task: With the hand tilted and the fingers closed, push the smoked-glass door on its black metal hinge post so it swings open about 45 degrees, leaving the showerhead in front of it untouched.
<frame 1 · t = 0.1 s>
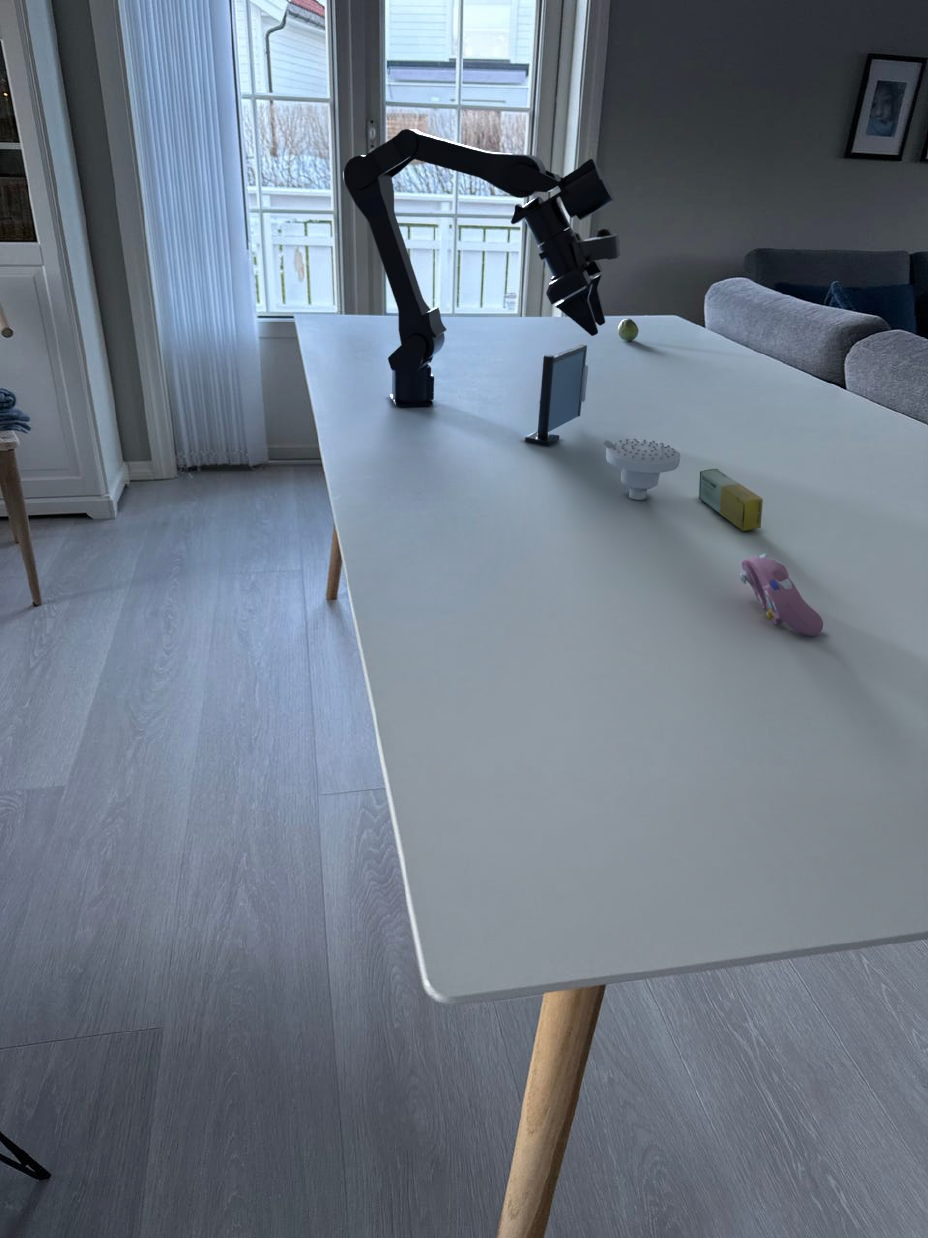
hand: (599, 329, 144), 15 cm above the table, tool tilted 30°, fingers open, 9 cm apart
showerhead: (634, 498, 119), on the table
hinge post: (542, 441, 139), on the table
medication box: (725, 516, 114), on the table
shower door: (569, 388, 141), point 7 cm above the table, hinge at 0.0°
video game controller: (774, 617, 90), on the table
lime: (626, 341, 213), on the table
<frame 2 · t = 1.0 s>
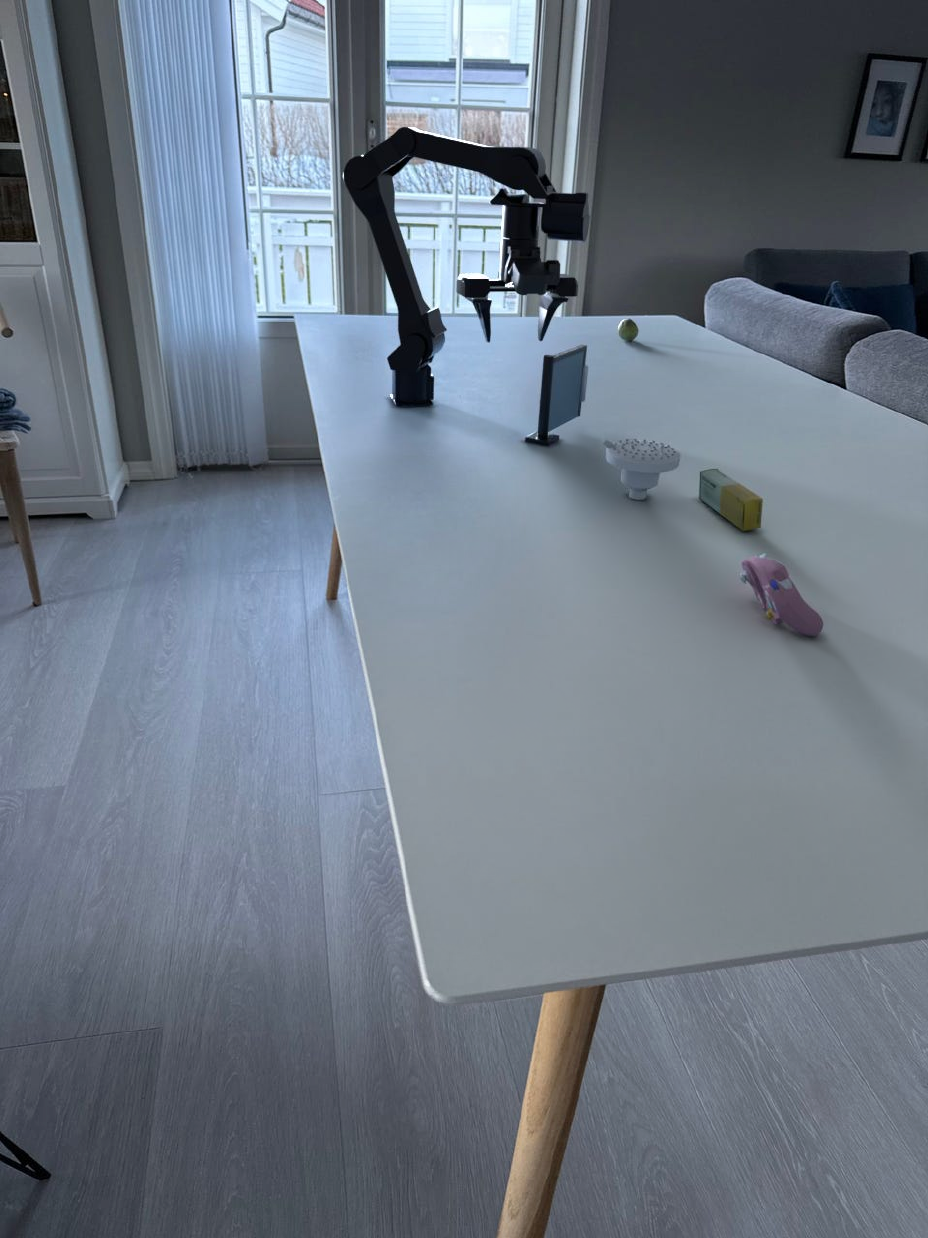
hand: (514, 341, 147), 12 cm above the table, tool pointing down, fingers open, 9 cm apart
nothing on the table moved.
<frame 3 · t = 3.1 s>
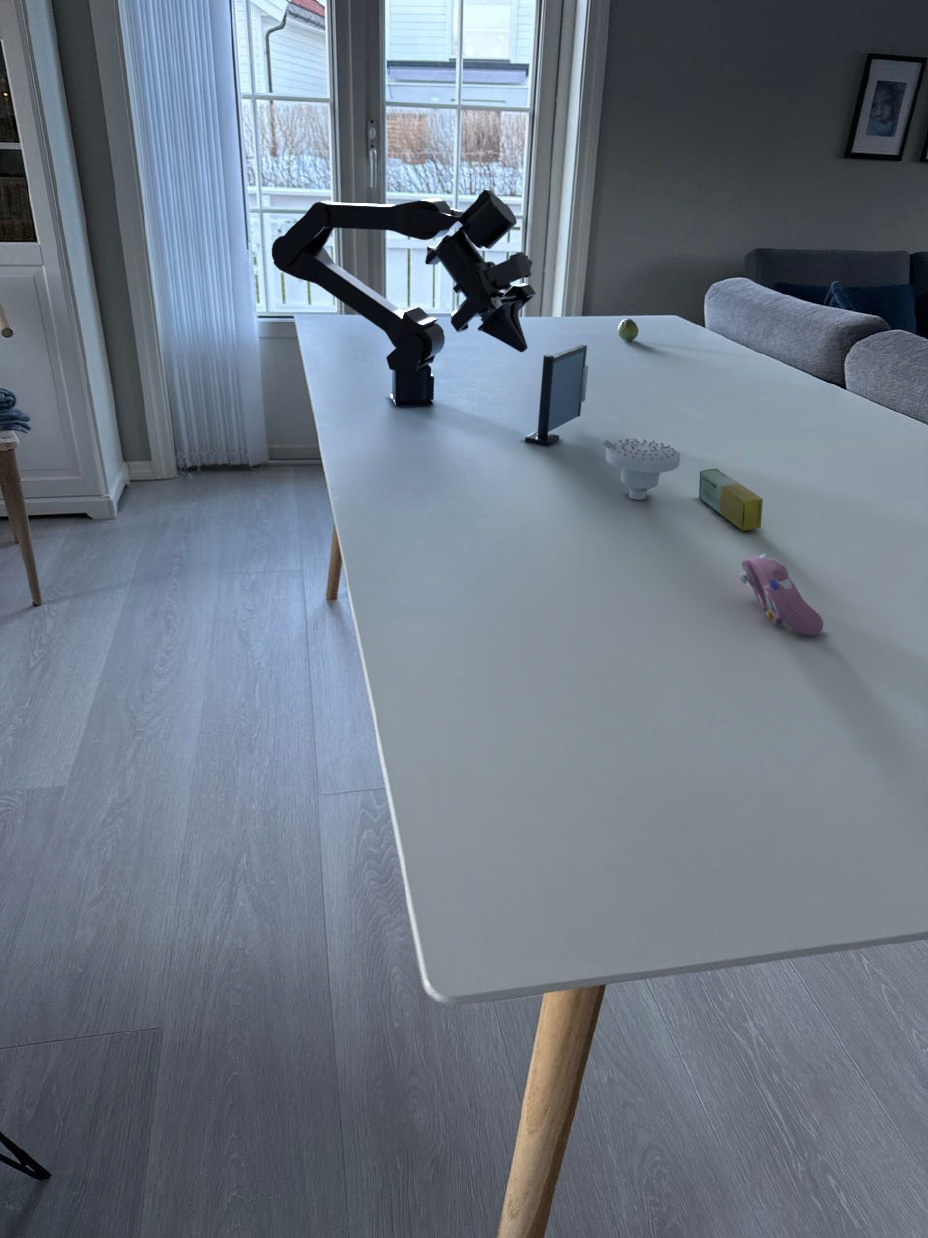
hand: (524, 350, 144), 11 cm above the table, tool tilted 45°, fingers closed
nothing on the table moved.
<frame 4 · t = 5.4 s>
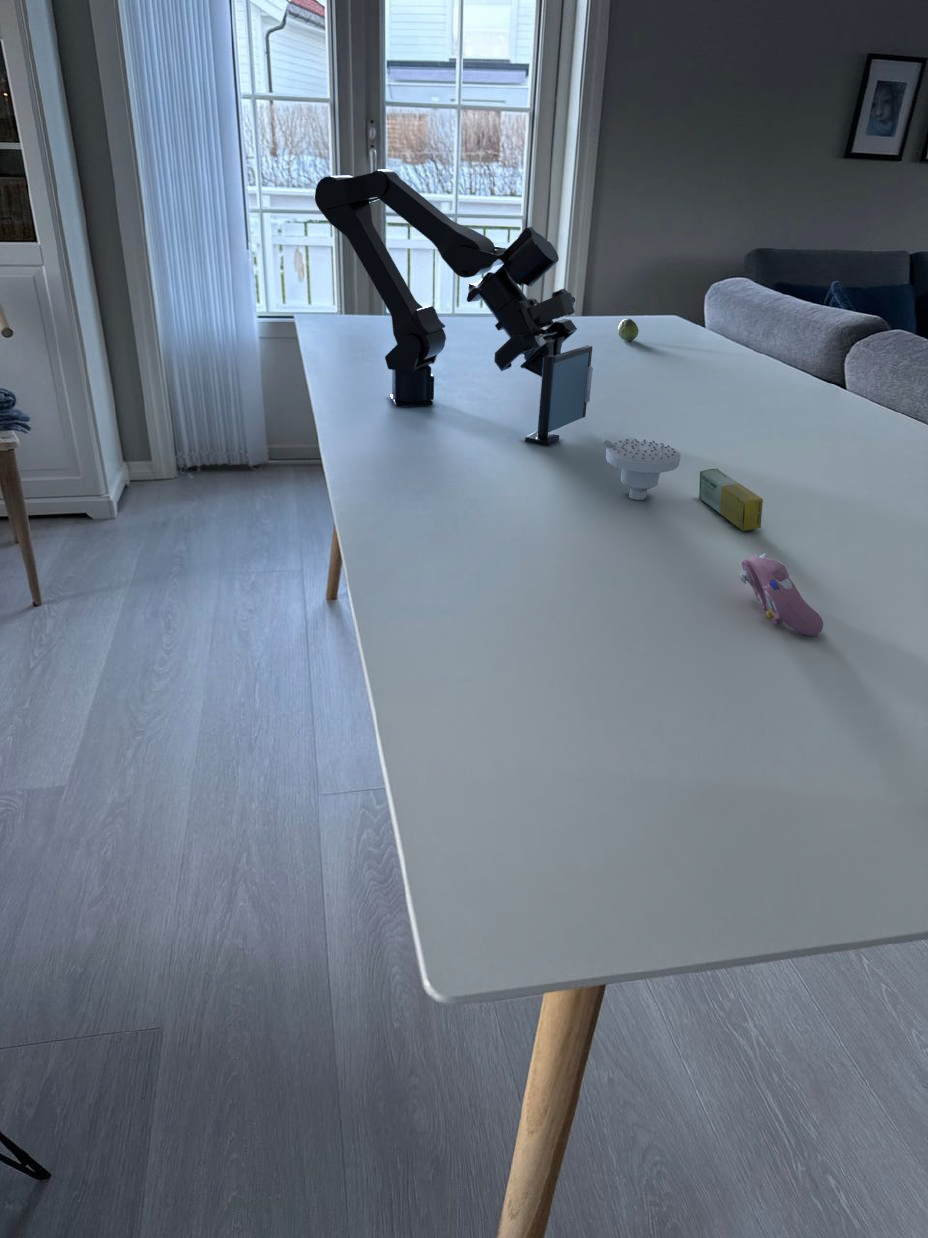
hand: (567, 387, 142), 7 cm above the table, tool tilted 45°, fingers closed, pressing on shower door
shower door: (572, 388, 141), point 7 cm above the table, hinge at 4.3°, touching gripper
everything else where it was.
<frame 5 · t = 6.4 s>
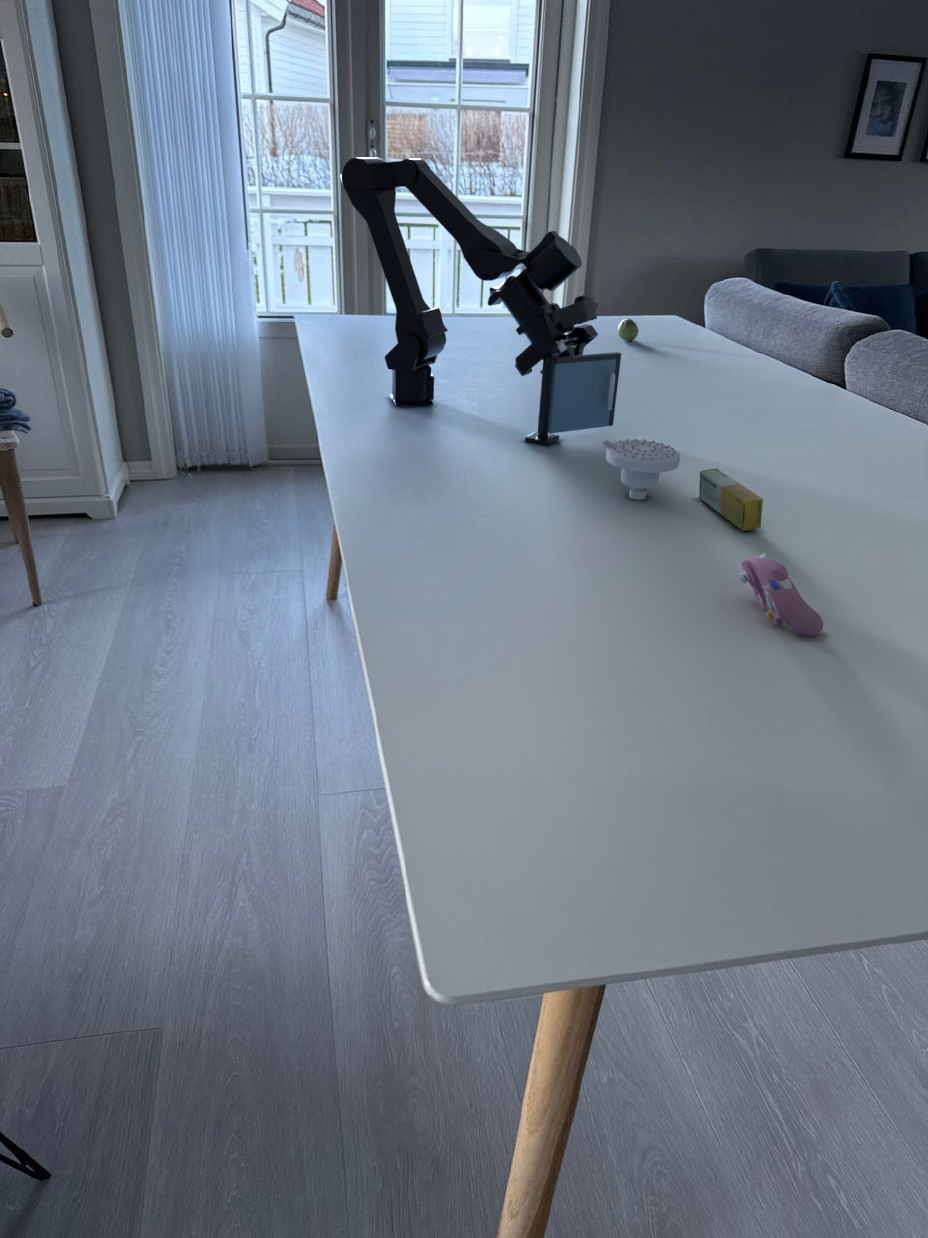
hand: (588, 393, 141), 6 cm above the table, tool tilted 45°, fingers closed
shower door: (586, 393, 139), point 7 cm above the table, hinge at 31.0°, touching gripper
everything else where it was.
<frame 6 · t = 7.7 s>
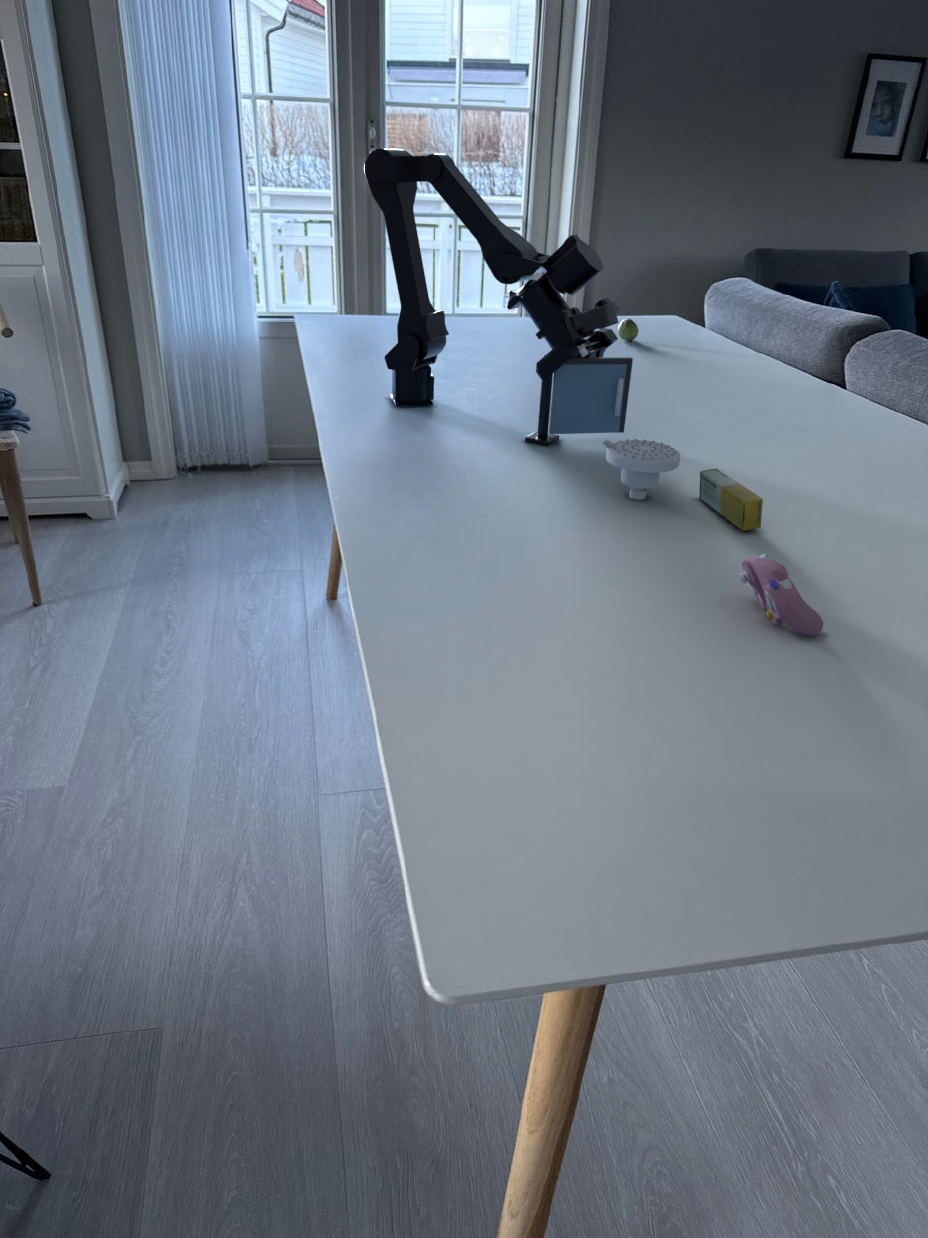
hand: (608, 398, 140), 6 cm above the table, tool tilted 45°, fingers closed
shower door: (591, 397, 137), point 7 cm above the table, hinge at 47.8°, touching gripper
everything else where it was.
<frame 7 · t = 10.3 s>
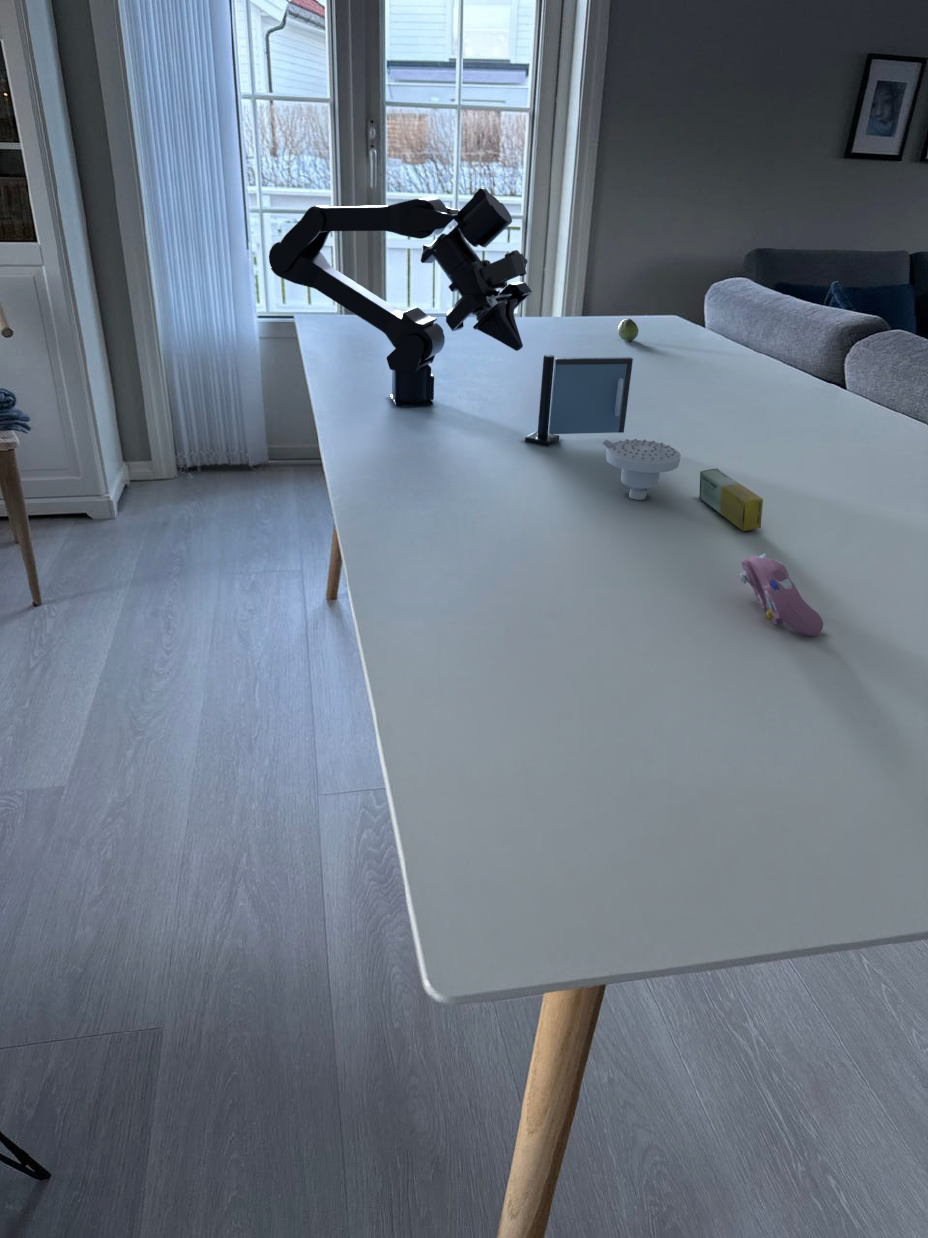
hand: (520, 348, 144), 12 cm above the table, tool tilted 45°, fingers closed
shower door: (591, 397, 137), point 7 cm above the table, hinge at 47.8°
everything else where it was.
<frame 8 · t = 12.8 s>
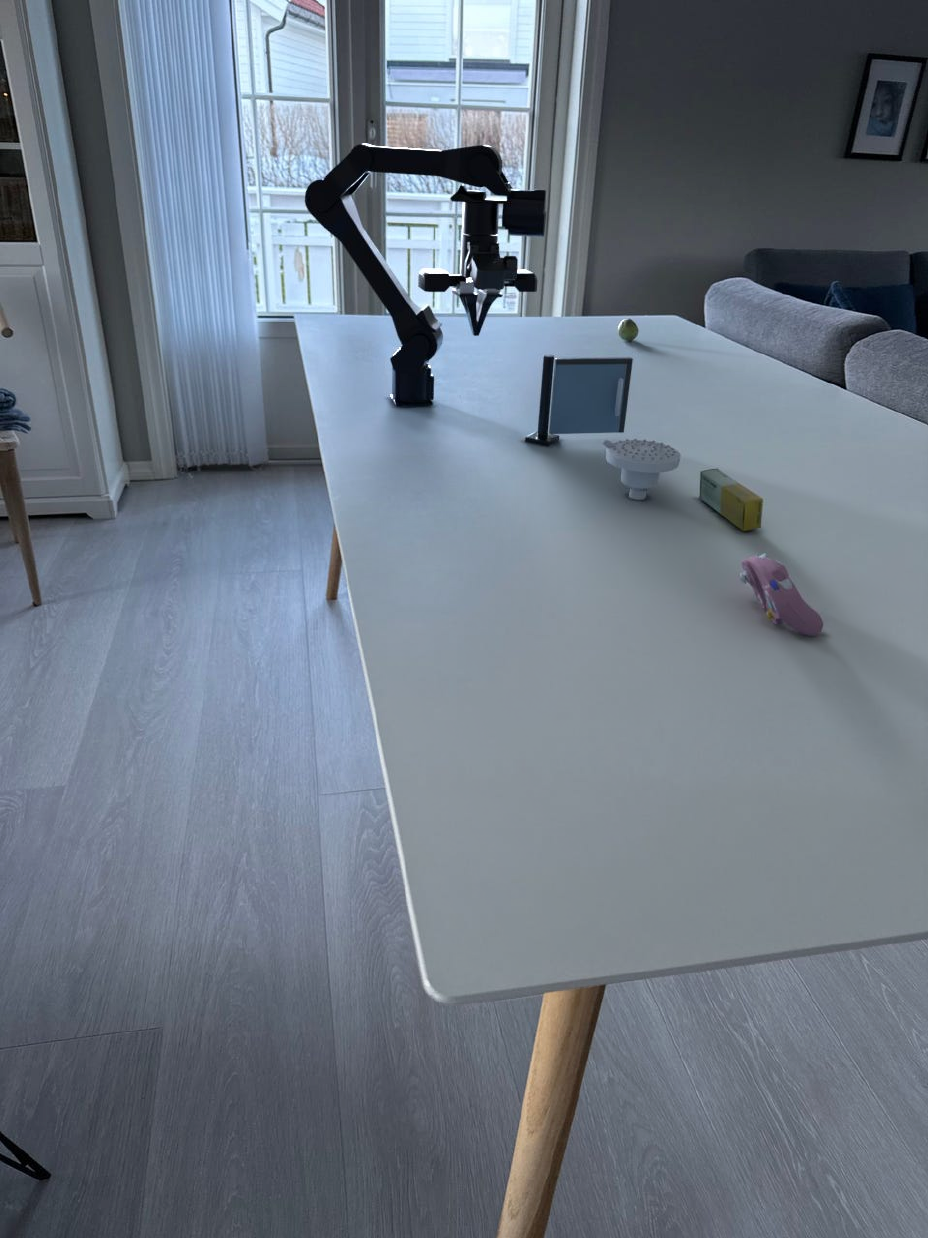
hand: (475, 335, 150), 12 cm above the table, tool pointing down, fingers closed
nothing on the table moved.
at the end: shower door at +48° (first picture: +0°); showerhead moved 0.2 cm from its start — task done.
